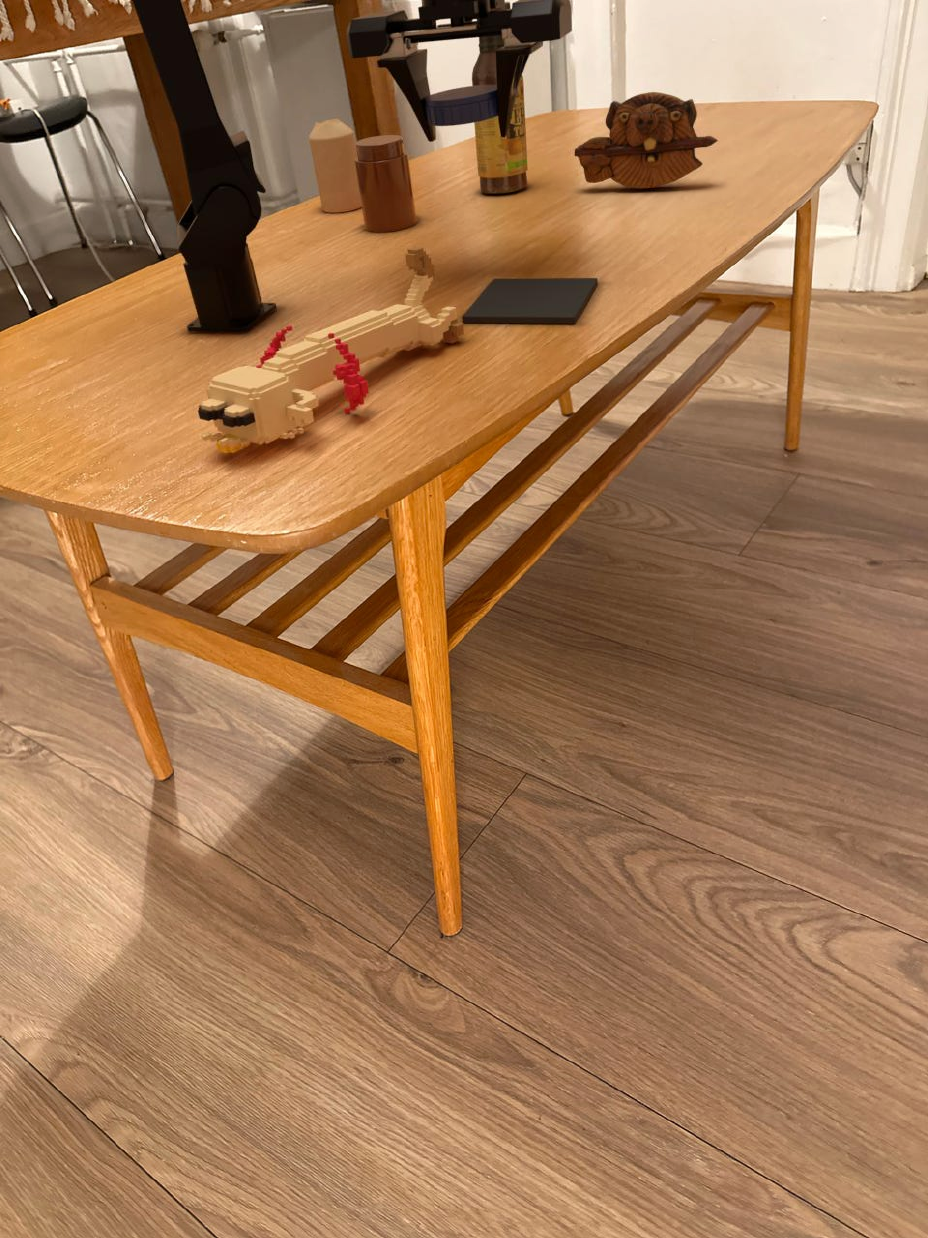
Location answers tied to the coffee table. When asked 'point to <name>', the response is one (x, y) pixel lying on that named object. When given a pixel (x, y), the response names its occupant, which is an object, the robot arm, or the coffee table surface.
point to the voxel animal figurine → (320, 366)
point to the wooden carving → (645, 142)
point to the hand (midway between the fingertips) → (468, 138)
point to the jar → (385, 183)
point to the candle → (335, 166)
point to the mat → (532, 301)
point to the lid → (462, 105)
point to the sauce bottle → (496, 155)
